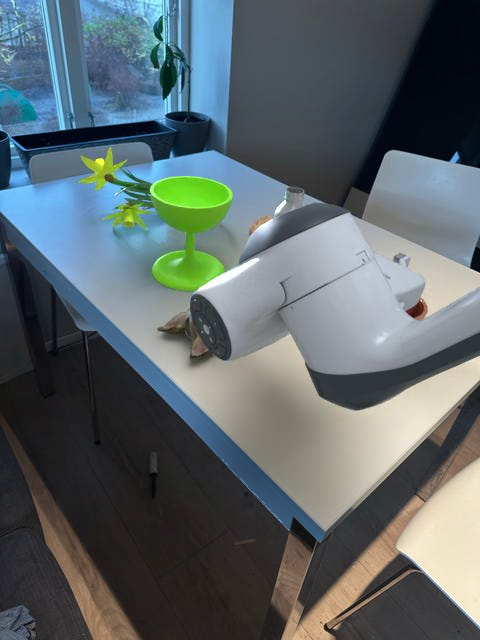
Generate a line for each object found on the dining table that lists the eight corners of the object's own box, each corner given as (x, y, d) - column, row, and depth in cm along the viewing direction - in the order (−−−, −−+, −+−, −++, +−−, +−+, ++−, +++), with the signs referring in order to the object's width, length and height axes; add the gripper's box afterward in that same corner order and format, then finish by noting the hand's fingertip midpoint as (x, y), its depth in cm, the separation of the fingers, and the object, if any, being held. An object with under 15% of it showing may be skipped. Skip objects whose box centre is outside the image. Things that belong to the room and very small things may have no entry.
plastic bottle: (300, 279, 99) (319, 193, 87) (278, 288, 95) (295, 199, 83) (280, 266, 103) (295, 181, 91) (258, 274, 99) (271, 187, 87)
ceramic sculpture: (262, 297, 76) (191, 333, 68) (258, 335, 81) (192, 373, 73) (221, 270, 82) (152, 300, 74) (220, 307, 87) (156, 339, 79)
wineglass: (193, 246, 106) (197, 171, 95) (240, 275, 98) (250, 197, 87) (136, 265, 97) (133, 185, 86) (183, 300, 88) (185, 215, 77)
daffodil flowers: (226, 229, 117) (99, 220, 94) (193, 237, 128) (72, 230, 105) (222, 164, 116) (93, 138, 93) (189, 177, 127) (66, 157, 104)
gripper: (397, 296, 44) (455, 256, 53) (250, 219, 55) (318, 196, 63) (379, 344, 48) (436, 300, 56) (245, 264, 59) (309, 237, 67)
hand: (372, 245), depth 60 cm, fingers open, 8 cm apart
